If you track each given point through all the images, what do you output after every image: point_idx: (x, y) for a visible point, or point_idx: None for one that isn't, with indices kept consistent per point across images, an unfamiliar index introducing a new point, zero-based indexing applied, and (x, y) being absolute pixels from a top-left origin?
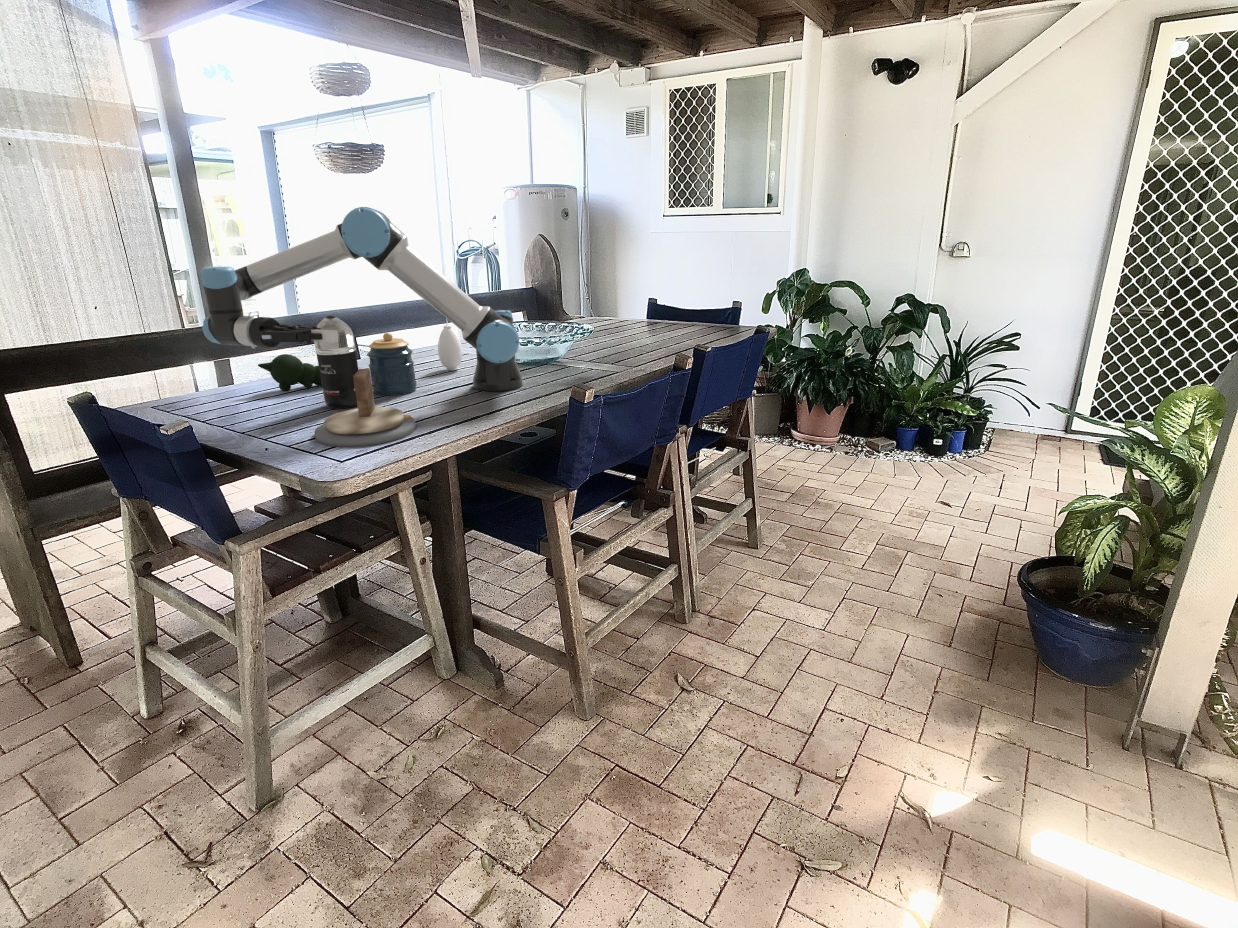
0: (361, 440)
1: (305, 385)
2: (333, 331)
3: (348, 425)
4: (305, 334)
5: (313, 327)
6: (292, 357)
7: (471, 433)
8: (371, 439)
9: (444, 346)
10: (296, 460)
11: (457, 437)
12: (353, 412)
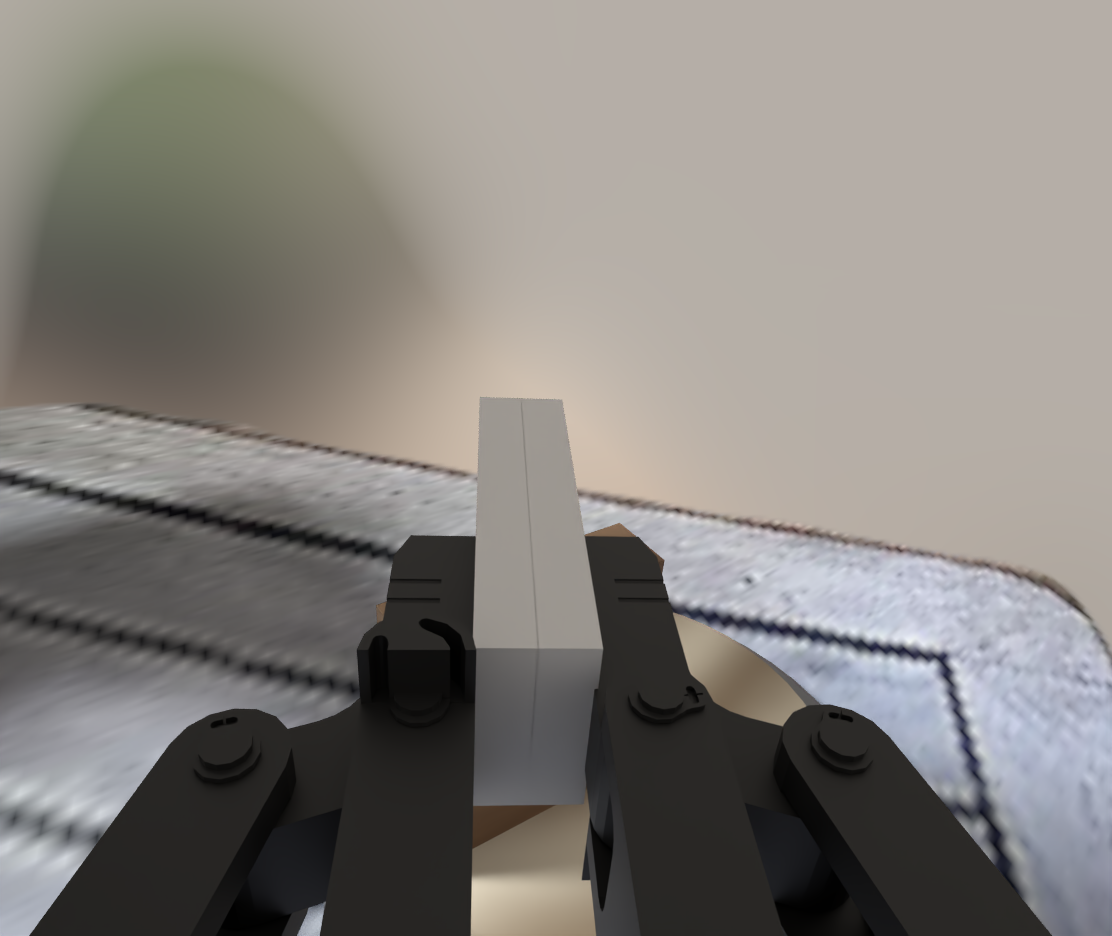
0: (783, 673)
1: None
2: (547, 399)
3: (774, 722)
4: (730, 724)
5: (470, 647)
6: None
7: (468, 483)
8: (748, 649)
9: None
10: (1095, 824)
11: None
12: (553, 871)
